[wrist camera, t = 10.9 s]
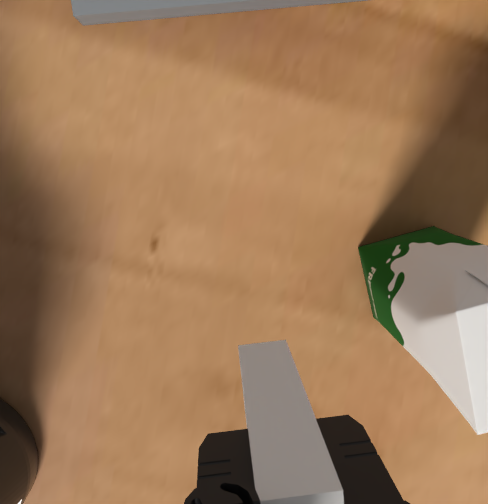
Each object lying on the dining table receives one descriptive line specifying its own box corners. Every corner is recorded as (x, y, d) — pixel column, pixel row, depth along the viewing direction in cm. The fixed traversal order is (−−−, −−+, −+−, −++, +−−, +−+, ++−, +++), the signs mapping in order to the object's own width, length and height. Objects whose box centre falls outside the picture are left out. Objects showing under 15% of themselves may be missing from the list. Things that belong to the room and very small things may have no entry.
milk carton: (457, 302, 43) (660, 427, 23) (364, 329, 43) (489, 475, 23) (441, 213, 41) (648, 266, 21) (344, 240, 41) (462, 318, 21)
